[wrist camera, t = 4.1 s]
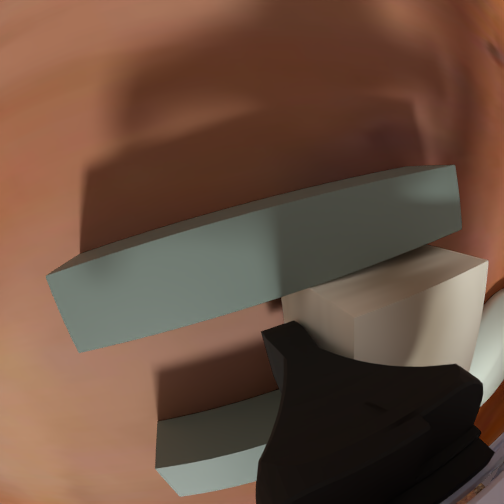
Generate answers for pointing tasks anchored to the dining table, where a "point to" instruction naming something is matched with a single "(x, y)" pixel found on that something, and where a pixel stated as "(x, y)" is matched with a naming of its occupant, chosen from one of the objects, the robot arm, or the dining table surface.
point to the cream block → (398, 310)
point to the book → (471, 494)
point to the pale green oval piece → (490, 346)
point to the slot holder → (244, 289)
